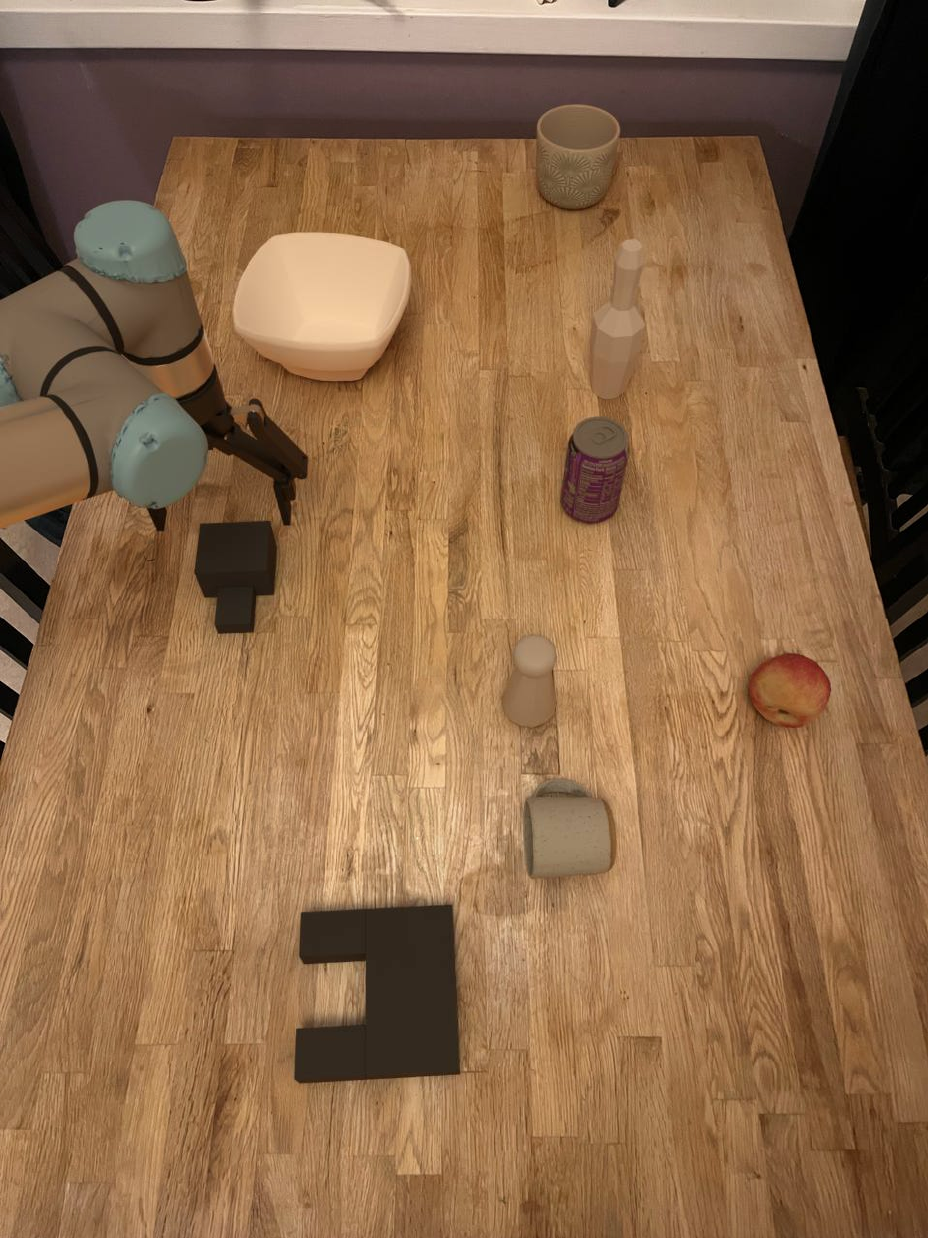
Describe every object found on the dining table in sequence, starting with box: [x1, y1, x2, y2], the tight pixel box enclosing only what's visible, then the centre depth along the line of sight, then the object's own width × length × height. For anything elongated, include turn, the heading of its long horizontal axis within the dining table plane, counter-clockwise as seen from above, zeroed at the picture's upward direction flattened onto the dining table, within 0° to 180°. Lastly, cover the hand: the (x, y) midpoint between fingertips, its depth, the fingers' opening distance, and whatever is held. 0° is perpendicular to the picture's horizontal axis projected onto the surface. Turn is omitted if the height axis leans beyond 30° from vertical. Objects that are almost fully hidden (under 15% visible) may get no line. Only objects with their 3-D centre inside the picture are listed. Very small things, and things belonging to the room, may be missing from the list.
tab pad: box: [193, 520, 278, 635], centre depth 109 cm, size 12×8×5 cm, turn 3°
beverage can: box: [559, 416, 630, 524], centre depth 113 cm, size 7×7×12 cm
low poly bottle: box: [588, 238, 646, 400], centre depth 119 cm, size 6×6×22 cm
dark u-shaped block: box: [293, 903, 461, 1085], centre depth 86 cm, size 14×14×3 cm
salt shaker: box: [500, 633, 558, 729], centre depth 97 cm, size 6×6×13 cm
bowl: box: [231, 232, 412, 382], centre depth 127 cm, size 22×22×12 cm
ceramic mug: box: [522, 778, 617, 880], centre depth 92 cm, size 11×8×8 cm
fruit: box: [748, 652, 832, 729], centre depth 99 cm, size 8×8×8 cm
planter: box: [535, 103, 621, 210], centre depth 147 cm, size 12×12×11 cm
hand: (225, 518), depth 104 cm, fingers open, 13 cm apart
